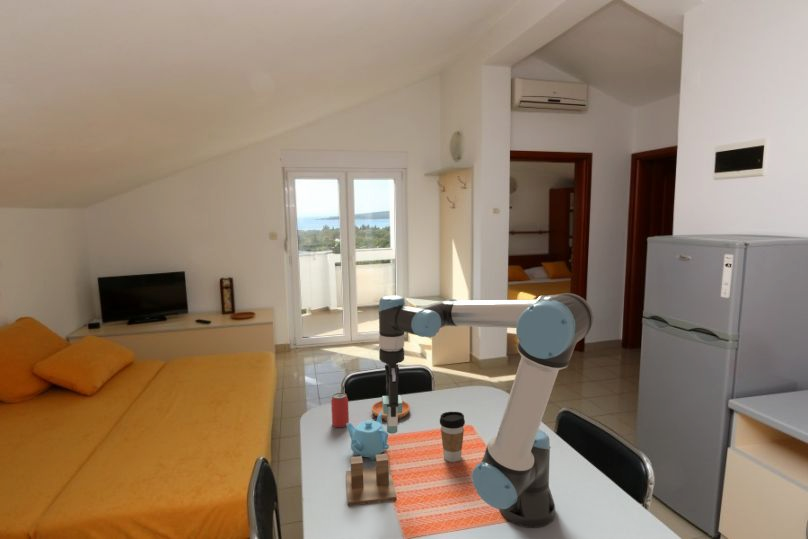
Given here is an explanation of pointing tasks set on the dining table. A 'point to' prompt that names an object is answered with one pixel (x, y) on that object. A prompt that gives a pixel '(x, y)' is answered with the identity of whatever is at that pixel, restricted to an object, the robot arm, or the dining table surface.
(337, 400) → the beer can
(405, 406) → the saucer
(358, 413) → the dining table surface
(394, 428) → the peg
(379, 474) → the bracket
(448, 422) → the coffee cup
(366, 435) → the teapot
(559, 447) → the dining table surface
